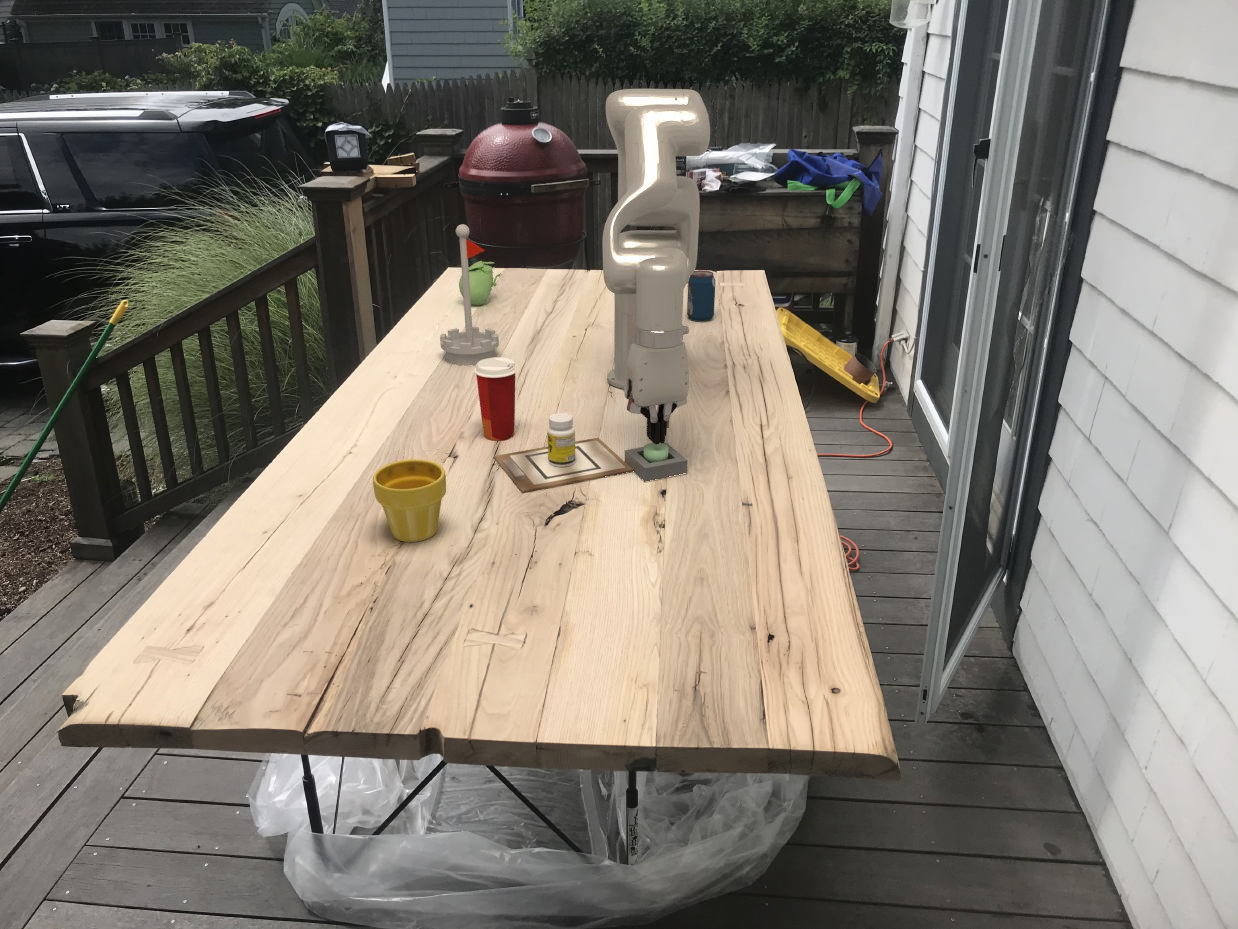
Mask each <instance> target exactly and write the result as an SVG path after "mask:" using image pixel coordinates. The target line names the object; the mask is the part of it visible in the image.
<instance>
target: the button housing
mask: <svg viewBox="0 0 1238 929" xmlns="http://www.w3.org/2000/svg"><path fill="white" fill-rule="evenodd" d="M663 444H665V445H667V446H668V460H664V461H658V462H653V463H648V462H647V461H646V460H645V459H644V446H641V447H635V448H629V449H628V448H627V449H624V462H626V463H627V464H628V465H629V466H630V467H631V468H632V469H633V471H634V472H635V473H636V474H637V475H638V476H639V477H638V476H637V475H636V474H635V473H634V472H633V473H634V474H635V475H636V476H637V477H638V478H640V480H642V479H643V480H644V481H649V482H651V481H650V480H654V481H656V480H655V479H659V480H663V479H662V478H664V479H667V478H666V477H669V476H674V475H679V474H683V473H687V474H688V466H689V465H688V460H689V459H687V458H686V457H685V456H683V455H682V454H681V453H680V452H679V451H677V450H676V449H675V448H673V446H671V445H669V443H667V442H665V443H663ZM679 476H680V475H679ZM674 477H675V476H674ZM669 478H670V477H669ZM643 480H642V481H643ZM644 481H643V482H644Z"/></svg>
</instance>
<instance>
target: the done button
mask: <svg viewBox="0 0 1238 929" xmlns="http://www.w3.org/2000/svg"><path fill="white" fill-rule="evenodd" d="M643 447H644V459H645V460H646V461H647V462H648V463H653V462H658V461H664V460H668V446H667V445H665V444H663V443H662V444H661V443H659V444H654V443H653V442H650V443H646V444H645V445H644V446H643Z"/></svg>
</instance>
